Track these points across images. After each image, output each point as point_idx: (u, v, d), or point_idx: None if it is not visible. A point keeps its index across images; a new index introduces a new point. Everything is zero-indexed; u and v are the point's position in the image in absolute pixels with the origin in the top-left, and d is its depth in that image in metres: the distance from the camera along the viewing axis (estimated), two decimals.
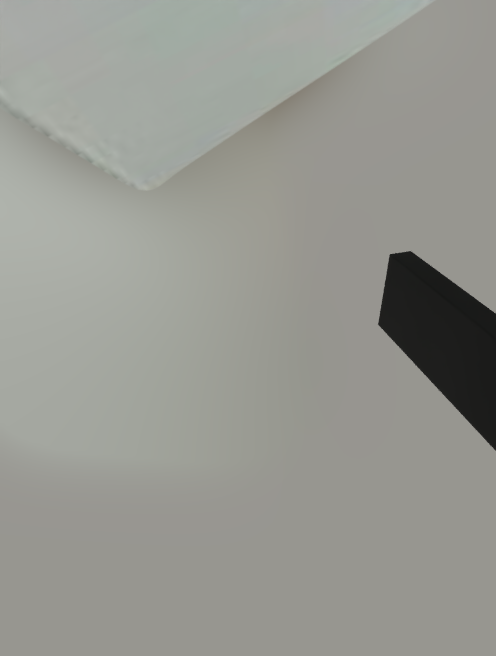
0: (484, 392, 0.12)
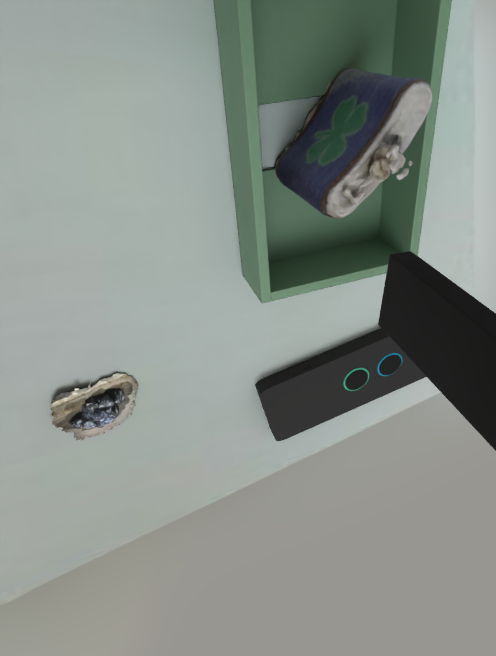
0: (484, 392, 0.12)
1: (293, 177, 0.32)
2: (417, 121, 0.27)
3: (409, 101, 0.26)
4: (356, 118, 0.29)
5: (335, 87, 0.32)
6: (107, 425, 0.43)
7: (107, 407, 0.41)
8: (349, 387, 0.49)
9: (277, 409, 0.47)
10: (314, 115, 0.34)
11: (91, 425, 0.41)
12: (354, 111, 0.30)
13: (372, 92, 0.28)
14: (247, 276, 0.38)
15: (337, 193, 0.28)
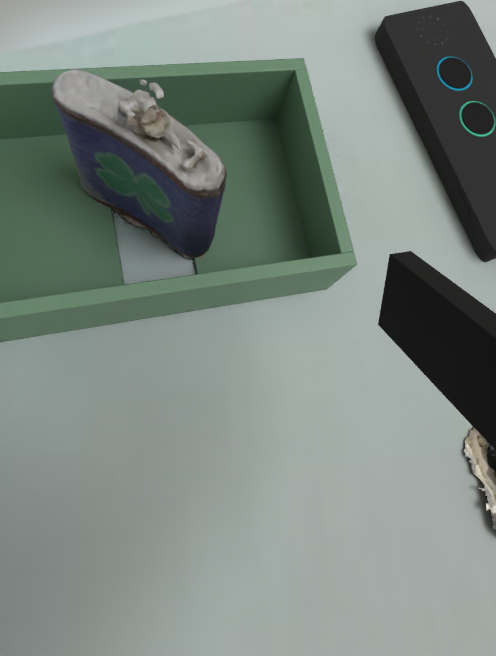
0: (484, 392, 0.12)
1: (193, 236, 0.26)
2: (99, 84, 0.21)
3: (75, 99, 0.21)
4: (114, 166, 0.24)
5: (99, 196, 0.28)
6: None
7: None
8: (489, 127, 0.34)
9: None
10: (132, 217, 0.29)
11: None
12: (109, 169, 0.25)
13: (83, 149, 0.24)
14: (325, 283, 0.30)
15: (191, 177, 0.21)
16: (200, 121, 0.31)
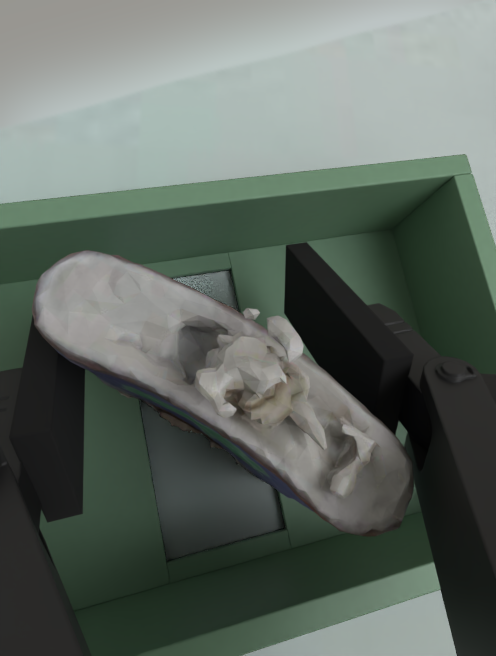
0: (347, 372, 0.12)
1: None
2: (139, 287, 0.09)
3: (86, 325, 0.09)
4: (160, 400, 0.12)
5: (123, 391, 0.17)
6: None
7: None
8: None
9: None
10: (177, 417, 0.17)
11: None
12: (147, 395, 0.13)
13: (99, 375, 0.12)
14: None
15: (347, 502, 0.09)
16: (278, 242, 0.20)
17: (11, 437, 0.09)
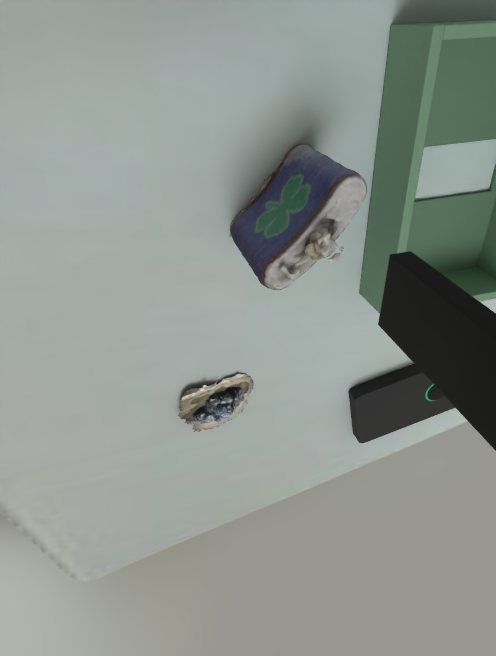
0: (484, 392, 0.12)
1: (242, 242, 0.34)
2: (351, 209, 0.29)
3: (344, 192, 0.28)
4: (300, 197, 0.31)
5: (288, 161, 0.34)
6: (221, 420, 0.47)
7: (228, 403, 0.45)
8: (430, 397, 0.54)
9: (366, 414, 0.52)
10: (268, 184, 0.36)
11: (211, 419, 0.46)
12: (299, 190, 0.32)
13: (315, 176, 0.30)
14: (367, 294, 0.43)
15: (275, 269, 0.30)
16: (493, 214, 0.43)
17: None
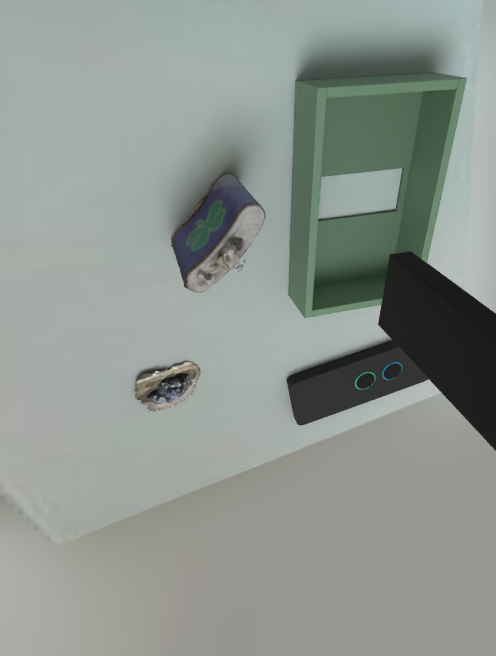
0: (484, 392, 0.12)
1: (176, 253, 0.42)
2: (253, 230, 0.37)
3: (246, 217, 0.36)
4: (218, 219, 0.39)
5: (215, 187, 0.42)
6: (173, 401, 0.55)
7: (177, 387, 0.54)
8: (359, 386, 0.62)
9: (302, 399, 0.60)
10: (201, 205, 0.44)
11: (163, 400, 0.54)
12: (219, 212, 0.40)
13: (229, 202, 0.38)
14: (293, 296, 0.51)
15: (194, 276, 0.38)
16: (400, 230, 0.51)
17: None
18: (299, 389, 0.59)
